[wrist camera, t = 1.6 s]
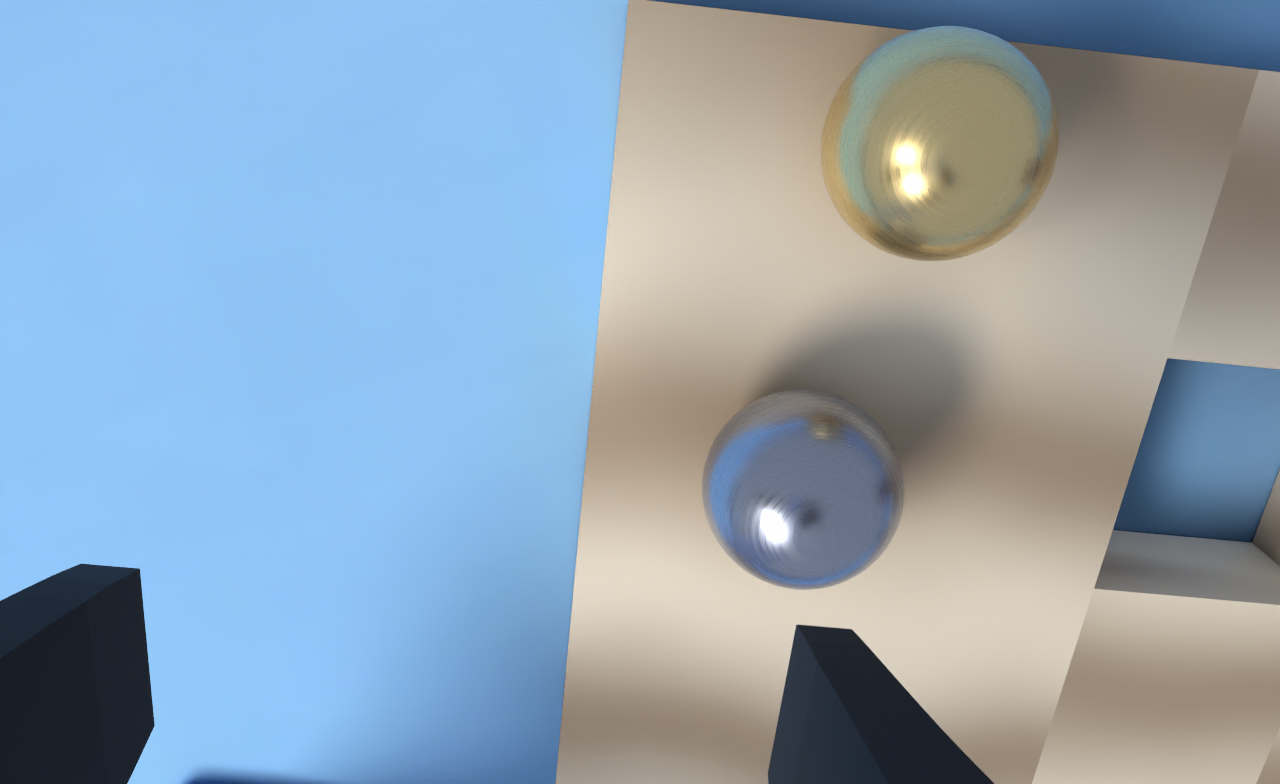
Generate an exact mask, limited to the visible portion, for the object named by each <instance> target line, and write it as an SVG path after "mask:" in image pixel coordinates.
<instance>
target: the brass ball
mask: <svg viewBox="0 0 1280 784" xmlns="http://www.w3.org/2000/svg"><path fill="white" fill-rule="evenodd" d="M1058 148H1059V123H1058V116H1057V111H1056V107H1055V103H1054V101H1053V98H1052V95H1051V92H1050V89H1049V87H1048V86H1047V84H1046V82H1045V80H1044V78H1043V76H1042V75H1041V73H1040V72H1039V71H1038V69H1037V68H1036V67H1035V65H1034V64H1033V63H1032V62H1031V61H1030V60H1029V59H1028V58H1027V57H1026V56H1025V55H1024V54H1023V53H1022V52H1021V51H1019V50H1018V49H1017V48H1015V47H1014V46H1013V45H1011V44H1010V43H1009V42H1007V41H1005V40H1003V39H1001V38H999V37H997V36H995V35H993V34H990V33H987V32H984V31H981V30H977V29H973V28H967V27H962V26H937V27H928V28H924V29H919V30H915V31H911V32H908V33H906V34H903V35H900V36H898V37H895V38H894V39H892V40H890V41H888V42H886V43H884V44H882V45H881V46H879V47H878V48H877V49H875V50H874V51H872V52H871V53H870V54H868V55H867V56H866V57H865V58H864V59H863V60H862V61H861V62H860V63H858V64H857V65H856V67H855V68H854V69H853V70H852V71H851V72H850V73H849V75H848V76H847V77H846V78H845V80H844V81H843V83H842V84H841V86H840V87H839V89H838V90H837V92H836V94H835V96H834V98H833V100H832V102H831V104H830V107H829V109H828V112H827V115H826V118H825V122H824V126H823V131H822V138H821V148H820V151H821V167H822V174H823V179H824V182H825V185H826V189H827V192H828V194H829V196H830V198H831V201H832V203H833V204H834V206H835V208H836V209H837V211H838V212H839V214H840V216H841V217H842V219H843V220H844V221H845V222H846V223H847V225H848V226H849V227H850V228H851V229H852V230H853V231H854V232H855V233H856V234H858V235H859V236H860V237H861V238H862V239H864V240H865V241H867V242H868V243H870V244H871V245H873V246H875V247H876V248H878V249H880V250H882V251H885V252H887V253H889V254H892V255H895V256H898V257H901V258H906V259H912V260H918V261H945V260H952V259H957V258H961V257H965V256H968V255H971V254H974V253H977V252H979V251H982V250H984V249H986V248H988V247H990V246H992V245H994V244H996V243H997V242H999V241H1000V240H1002V239H1003V238H1005V237H1006V236H1008V235H1009V234H1010V233H1011V232H1013V231H1014V230H1015V229H1016V228H1017V227H1018V226H1019V225H1020V224H1021V223H1022V222H1023V221H1024V220H1025V219H1026V218H1027V217H1028V216H1029V215H1030V213H1031V212H1032V211H1033V210H1034V208H1035V207H1036V206H1037V204H1038V203H1039V201H1040V199H1041V198H1042V196H1043V194H1044V193H1045V191H1046V188H1047V186H1048V184H1049V182H1050V180H1051V177H1052V174H1053V171H1054V168H1055V165H1056V160H1057V155H1058Z"/></svg>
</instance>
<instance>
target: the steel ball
mask: <svg viewBox="0 0 1280 784" xmlns="http://www.w3.org/2000/svg"><path fill="white" fill-rule="evenodd" d="M904 490H905V486H904V479H903V471H902V467H901V463H900V460H899V457H898V454H897V452H896V450H895V448H894V446H893V444H892V442H891V440H890V438H889V437H888V435H887V434H886V432H885V431H884V430H883V428H882V427H881V426H880V425H879V424H878V423H877V422H876V420H875V419H874V418H873V417H872V416H870V415H869V414H868V413H867V412H866V411H864V410H863V409H862V408H860V407H859V406H857V405H855V404H854V403H852V402H850V401H849V400H847V399H844V398H842V397H840V396H838V395H834V394H831V393H827V392H823V391H817V390H811V389H793V390H785V391H780V392H775V393H772V394H769V395H766V396H763V397H761V398H759V399H757V400H755V401H753V402H751V403H750V404H748V405H747V406H745V407H743V408H742V409H741V410H740V411H738V412H737V413H736V414H735V415H734V416H733V417H732V418H731V419H730V420H729V421H728V422H727V423H726V424H725V425H724V426H723V428H722V429H721V431H720V432H719V433H718V435H717V436H716V438H715V440H714V442H713V444H712V445H711V448H710V450H709V453H708V456H707V459H706V462H705V466H704V471H703V479H702V497H703V505H704V510H705V514H706V517H707V521H708V523H709V526H710V528H711V531H712V533H713V534H714V536H715V538H716V540H717V541H718V543H719V545H720V546H721V547H722V549H723V550H724V551H725V553H726V554H727V555H728V556H729V557H730V558H731V559H732V560H733V561H734V562H735V563H736V564H737V565H738V566H739V567H741V568H742V569H743V570H745V571H746V572H748V573H749V574H751V575H753V576H754V577H756V578H758V579H760V580H762V581H765V582H767V583H770V584H772V585H775V586H779V587H783V588H788V589H795V590H812V589H821V588H826V587H831V586H834V585H837V584H840V583H843V582H845V581H847V580H849V579H851V578H853V577H855V576H857V575H858V574H860V573H862V572H863V571H864V570H866V569H867V568H868V567H870V566H871V565H872V564H873V563H874V562H875V561H876V560H877V559H878V558H879V557H880V556H881V555H882V553H883V552H884V551H885V550H886V548H887V546H888V545H889V543H890V542H891V540H892V538H893V536H894V534H895V532H896V530H897V528H898V526H899V522H900V519H901V516H902V510H903V504H904Z"/></svg>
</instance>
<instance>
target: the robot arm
mask: <svg viewBox="0 0 1280 784" xmlns="http://www.w3.org/2000/svg"><path fill="white" fill-rule="evenodd" d="M153 728H154V716H153V705H152V695H151V684H150V674H149V663H148V652H147V642H146V631H145V621H144V610H143V599H142V589H141V578H140V569H136V568H124V567H112V566H101V565H89V564H79V565H77V566H74V567H72V568H70V569H67V570H65V571H62V572H60V573H58V574H55V575H53V576H51V577H49V578H47V579H45V580H42V581H40V582H38V583H36V584H34V585H32V586H30V587H28V588H26V589H24V590H22V591H20V592H18V593H16V594H13V595H11V596H9V597H7V598H5V599H3V600H1V601H0V784H127V783H128V781H129V779H130V777H131V775H132V773H133V770H134V768H135V766H136V764H137V762H138V760H139V758H140V755H141V753H142V751H143V749H144V747H145V745H146V743H147V740H148V738H149V736H150V734H151V732H152V730H153ZM768 783H769V784H995V783H994V782H993V781H992V780H991V779H990V778H989V777H988V776H987V775H986V774H985V773H984V772H983V771H982V770H981V769H980V768H979V767H978V766H977V765H976V764H975V763H974V762H973V761H972V760H971V759H970V758H969V757H968V756H967V755H966V754H965V753H964V752H963V751H962V750H961V749H960V748H959V747H958V746H957V745H956V744H955V742H954V741H953V740H952V739H951V738H950V737H949V736H948V735H947V734H946V733H945V732H944V731H943V730H942V729H941V728H940V726H939V725H938V724H937V723H936V722H935V721H934V720H933V719H932V718H931V717H930V716H929V714H928V713H927V712H926V711H925V710H924V709H923V708H922V707H921V706H920V705H919V703H918V702H917V701H916V700H915V699H914V698H913V697H912V696H911V694H910V693H909V692H908V691H907V690H906V689H905V688H904V687H903V686H902V684H901V683H900V682H899V681H898V680H897V679H896V678H895V677H894V675H893V674H892V673H891V672H890V671H889V670H888V669H887V667H886V666H885V665H884V664H883V663H882V662H881V661H880V659H879V658H878V657H877V656H876V655H875V654H874V653H873V652H872V650H871V649H870V648H869V647H868V646H867V645H866V644H865V643H864V642H863V640H862V639H861V638H860V637H859V636H858V635H857V634H856V633H855V632H854V631H853V630H852V629H844V628H833V627H821V626H809V625H797V624H796V629H795V634H794V639H793V645H792V650H791V655H790V660H789V665H788V670H787V676H786V681H785V686H784V691H783V696H782V702H781V707H780V712H779V717H778V722H777V727H776V733H775V738H774V743H773V748H772V753H771V759H770V764H769V769H768Z"/></svg>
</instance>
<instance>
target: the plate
mask: <svg viewBox="0 0 1280 784" xmlns="http://www.w3.org/2000/svg"><path fill="white" fill-rule="evenodd" d="M911 31H913V30H904V29H895V28H887V27H878V26H869V25H860V24H851V23H843V22H834V21H825V20H816V19H807V18H798V17H790V16H781V15H772V14H763V13H754V12H745V11H737V10H728V9H719V8H710V7H701V6H692V5H684V4H675V3H666V2H657V1H648V0H629V2H628V13H627V24H626V34H625V45H624V56H623V67H622V77H621V88H620V99H619V109H618V120H617V131H616V141H615V152H614V163H613V173H612V184H611V195H610V206H609V216H608V227H607V238H606V248H605V259H604V270H603V280H602V291H601V302H600V312H599V323H598V334H597V345H596V355H595V366H594V377H593V387H592V398H591V409H590V419H589V430H588V441H587V451H586V462H585V473H584V484H583V494H582V505H581V516H580V526H579V537H578V548H577V558H576V569H575V580H574V590H573V601H572V612H571V623H570V633H569V644H568V655H567V665H566V676H565V687H564V697H563V708H562V719H561V729H560V740H559V751H558V762H557V772H556V783H555V784H769V783H768V769H769V764H770V759H771V753H772V748H773V743H774V738H775V733H776V727H777V722H778V717H779V712H780V707H781V702H782V696H783V691H784V686H785V681H786V676H787V670H788V665H789V660H790V655H791V650H792V645H793V639H794V634H795V629H796V624H797V625H809V626H821V627H833V628H844V629H852V630H853V631H854V632H855V633H856V634H857V635H858V636H859V637H860V638H861V639H862V640H863V642H864V643H865V644H866V645H867V646H868V647H869V648H870V649H871V650H872V652H873V653H874V654H875V655H876V656H877V657H878V658H879V659H880V661H881V662H882V663H883V664H884V665H885V666H886V667H887V669H888V670H889V671H890V672H891V673H892V674H893V675H894V677H895V678H896V679H897V680H898V681H899V682H900V683H901V684H902V686H903V687H904V688H905V689H906V690H907V691H908V692H909V693H910V694H911V696H912V697H913V698H914V699H915V700H916V701H917V702H918V703H919V705H920V706H921V707H922V708H923V709H924V710H925V711H926V712H927V713H928V714H929V716H930V717H931V718H932V719H933V720H934V721H935V722H936V723H937V724H938V725H939V726H940V728H941V729H942V730H943V731H944V732H945V733H946V734H947V735H948V736H949V737H950V738H951V739H952V740H953V741H954V742H955V744H956V745H957V746H958V747H959V748H960V749H961V750H962V751H963V752H964V753H965V754H966V755H967V756H968V757H969V758H970V759H971V760H972V761H973V762H974V763H975V764H976V765H977V766H978V767H979V768H980V769H981V770H982V771H983V772H984V773H985V774H986V775H987V776H988V777H989V778H990V779H991V780H992V781H993V782H994V783H995V784H1280V470H1279V473H1278V475H1277V478H1276V480H1275V483H1274V486H1273V488H1272V491H1271V494H1270V496H1269V499H1268V502H1267V504H1266V507H1265V509H1264V512H1263V515H1262V517H1261V520H1260V523H1259V525H1258V528H1257V530H1256V533H1255V536H1254V538H1253V541H1252V543H1251V542H1240V541H1228V540H1217V539H1206V538H1195V537H1184V536H1173V535H1162V534H1151V533H1140V532H1129V531H1118V530H1113V528H1114V524H1115V521H1116V518H1117V515H1118V512H1119V509H1120V506H1121V502H1122V499H1123V496H1124V493H1125V490H1126V487H1127V484H1128V481H1129V477H1130V474H1131V471H1132V468H1133V465H1134V462H1135V459H1136V455H1137V452H1138V449H1139V446H1140V443H1141V440H1142V437H1143V433H1144V430H1145V427H1146V424H1147V421H1148V418H1149V415H1150V411H1151V408H1152V405H1153V402H1154V399H1155V396H1156V393H1157V390H1158V386H1159V383H1160V380H1161V377H1162V374H1163V371H1164V368H1165V364H1166V361H1167V358H1170V359H1180V360H1190V361H1201V362H1211V363H1221V364H1231V365H1241V366H1251V367H1261V368H1271V369H1280V72H1275V71H1266V70H1257V69H1248V68H1240V67H1231V66H1222V65H1213V64H1204V63H1196V62H1187V61H1178V60H1169V59H1160V58H1151V57H1143V56H1134V55H1125V54H1116V53H1107V52H1098V51H1090V50H1081V49H1072V48H1063V47H1054V46H1046V45H1037V44H1028V43H1019V42H1010V41H1007V42H1009V43H1010V44H1011V45H1013V46H1014V47H1015V48H1017V49H1018V50H1019V51H1021V52H1022V53H1023V54H1024V55H1025V56H1026V57H1027V58H1028V59H1029V60H1030V61H1031V62H1032V63H1033V64H1034V65H1035V67H1036V68H1037V69H1038V71H1039V72H1040V73H1041V75H1042V76H1043V78H1044V80H1045V82H1046V84H1047V86H1048V87H1049V89H1050V92H1051V95H1052V98H1053V101H1054V103H1055V107H1056V111H1057V116H1058V123H1059V148H1058V155H1057V160H1056V165H1055V168H1054V171H1053V174H1052V177H1051V180H1050V182H1049V184H1048V186H1047V188H1046V191H1045V193H1044V194H1043V196H1042V198H1041V199H1040V201H1039V203H1038V204H1037V206H1036V207H1035V208H1034V210H1033V211H1032V212H1031V213H1030V215H1029V216H1028V217H1027V218H1026V219H1025V220H1024V221H1023V222H1022V223H1021V224H1020V225H1019V226H1018V227H1017V228H1016V229H1015V230H1014V231H1013V232H1011V233H1010V234H1009V235H1008V236H1006V237H1005V238H1003V239H1002V240H1000V241H999V242H997V243H996V244H994V245H992V246H990V247H988V248H986V249H984V250H982V251H979V252H977V253H974V254H971V255H968V256H965V257H961V258H957V259H952V260H945V261H918V260H912V259H906V258H901V257H898V256H895V255H892V254H889V253H887V252H885V251H882V250H880V249H878V248H876V247H875V246H873V245H871V244H870V243H868V242H867V241H865V240H864V239H862V238H861V237H860V236H859V235H858V234H856V233H855V232H854V231H853V230H852V229H851V228H850V227H849V226H848V225H847V223H846V222H845V221H844V220H843V219H842V217H841V216H840V214H839V212H838V211H837V209H836V208H835V206H834V204H833V203H832V201H831V198H830V196H829V194H828V192H827V189H826V185H825V182H824V179H823V174H822V167H821V151H820V148H821V138H822V131H823V126H824V122H825V118H826V115H827V112H828V109H829V107H830V104H831V102H832V100H833V98H834V96H835V94H836V92H837V90H838V89H839V87H840V86H841V84H842V83H843V81H844V80H845V78H846V77H847V76H848V75H849V73H850V72H851V71H852V70H853V69H854V68H855V67H856V65H857V64H858V63H860V62H861V61H862V60H863V59H864V58H865V57H866V56H867V55H868V54H870V53H871V52H872V51H874V50H875V49H877V48H878V47H879V46H881V45H882V44H884V43H886V42H888V41H890V40H892V39H894V38H895V37H898V36H900V35H903V34H906V33H908V32H911ZM793 389H811V390H817V391H823V392H827V393H831V394H834V395H838V396H840V397H842V398H844V399H847V400H849V401H850V402H852V403H854V404H855V405H857V406H859V407H860V408H862V409H863V410H864V411H866V412H867V413H868V414H869V415H870V416H872V417H873V418H874V419H875V420H876V422H877V423H878V424H879V425H880V426H881V427H882V428H883V430H884V431H885V432H886V434H887V435H888V437H889V438H890V440H891V442H892V444H893V446H894V448H895V450H896V452H897V454H898V457H899V460H900V463H901V467H902V471H903V479H904V486H905V490H904V504H903V510H902V516H901V519H900V522H899V526H898V528H897V530H896V532H895V534H894V536H893V538H892V540H891V542H890V543H889V545H888V546H887V548H886V550H885V551H884V552H883V553H882V555H881V556H880V557H879V558H878V559H877V560H876V561H875V562H874V563H873V564H872V565H871V566H870V567H868V568H867V569H866V570H864V571H863V572H862V573H860V574H858V575H857V576H855V577H853V578H851V579H849V580H847V581H845V582H843V583H840V584H837V585H834V586H831V587H826V588H821V589H812V590H795V589H788V588H783V587H779V586H775V585H772V584H770V583H767V582H765V581H762V580H760V579H758V578H756V577H754V576H753V575H751V574H749V573H748V572H746V571H745V570H743V569H742V568H741V567H739V566H738V565H737V564H736V563H735V562H734V561H733V560H732V559H731V558H730V557H729V556H728V555H727V554H726V553H725V551H724V550H723V549H722V547H721V546H720V545H719V543H718V541H717V540H716V538H715V536H714V534H713V533H712V531H711V528H710V526H709V523H708V521H707V517H706V514H705V510H704V505H703V497H702V479H703V471H704V466H705V462H706V459H707V456H708V453H709V450H710V448H711V445H712V444H713V442H714V440H715V438H716V436H717V435H718V433H719V432H720V431H721V429H722V428H723V426H724V425H725V424H726V423H727V422H728V421H729V420H730V419H731V418H732V417H733V416H734V415H735V414H736V413H737V412H738V411H740V410H741V409H742V408H743V407H745V406H747V405H748V404H750V403H751V402H753V401H755V400H757V399H759V398H761V397H763V396H766V395H769V394H772V393H775V392H780V391H785V390H793Z"/></svg>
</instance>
